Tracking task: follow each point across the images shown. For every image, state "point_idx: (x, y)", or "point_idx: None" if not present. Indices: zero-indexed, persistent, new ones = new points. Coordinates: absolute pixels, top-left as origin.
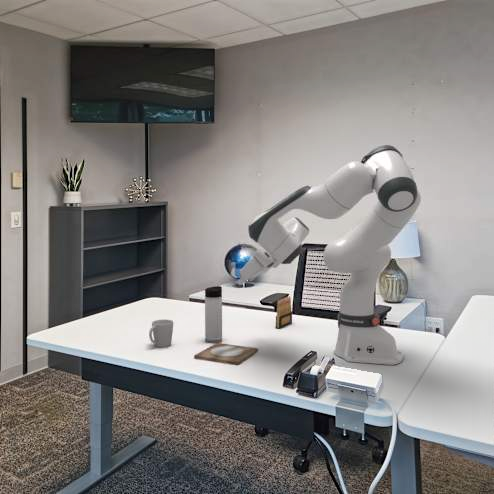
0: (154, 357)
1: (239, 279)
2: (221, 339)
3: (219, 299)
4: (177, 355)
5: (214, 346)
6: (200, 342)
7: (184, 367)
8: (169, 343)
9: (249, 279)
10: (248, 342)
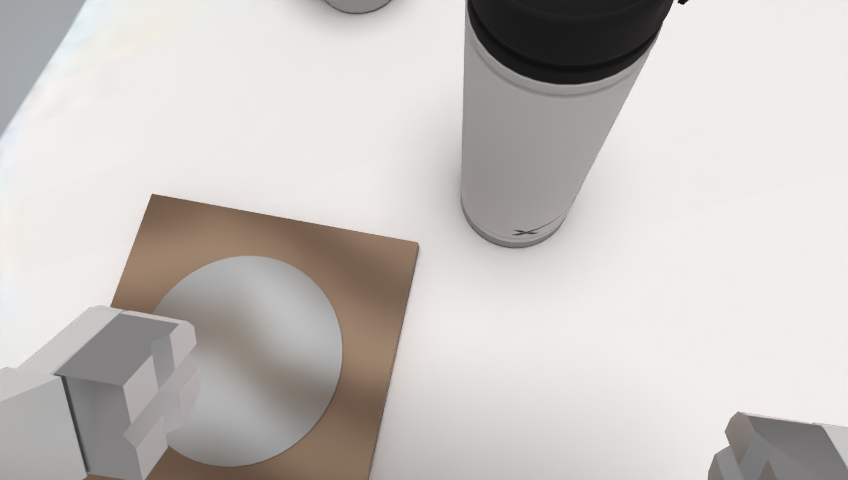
0: (159, 19)
1: (39, 357)
2: (509, 244)
3: (518, 91)
4: (202, 104)
5: (335, 250)
6: (458, 136)
7: (17, 201)
8: (342, 4)
9: (727, 465)
10: (540, 431)
